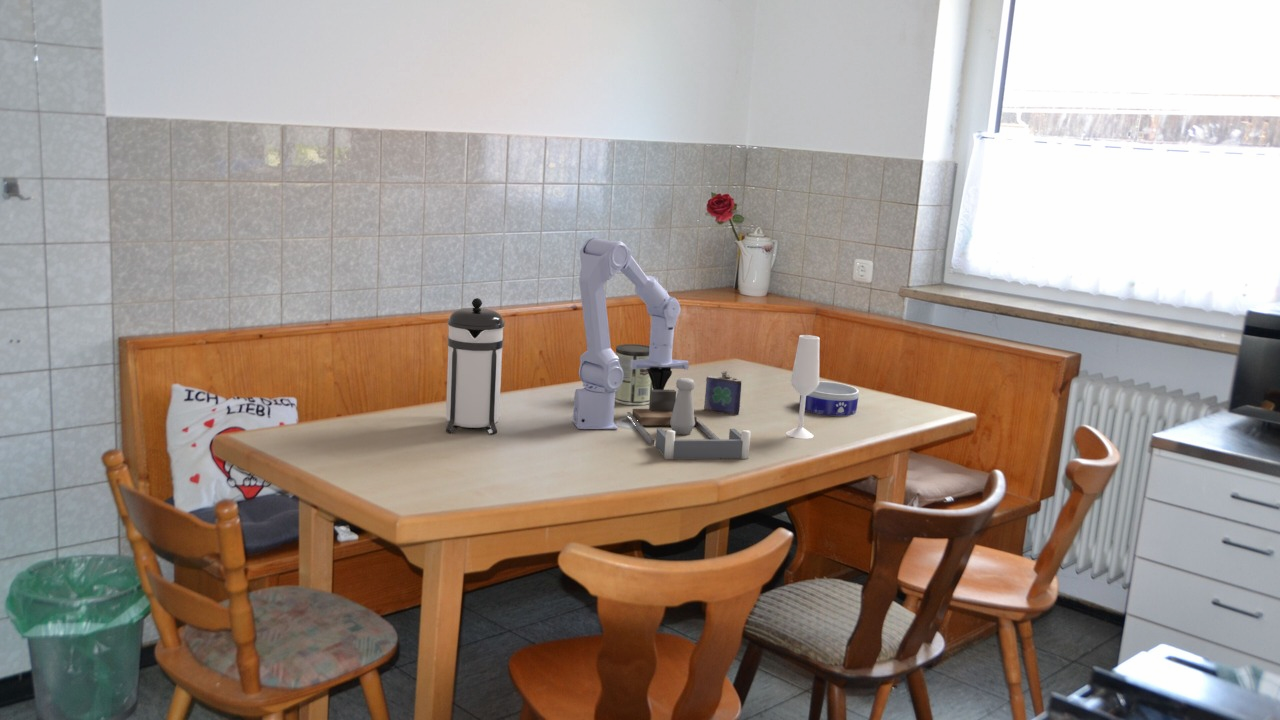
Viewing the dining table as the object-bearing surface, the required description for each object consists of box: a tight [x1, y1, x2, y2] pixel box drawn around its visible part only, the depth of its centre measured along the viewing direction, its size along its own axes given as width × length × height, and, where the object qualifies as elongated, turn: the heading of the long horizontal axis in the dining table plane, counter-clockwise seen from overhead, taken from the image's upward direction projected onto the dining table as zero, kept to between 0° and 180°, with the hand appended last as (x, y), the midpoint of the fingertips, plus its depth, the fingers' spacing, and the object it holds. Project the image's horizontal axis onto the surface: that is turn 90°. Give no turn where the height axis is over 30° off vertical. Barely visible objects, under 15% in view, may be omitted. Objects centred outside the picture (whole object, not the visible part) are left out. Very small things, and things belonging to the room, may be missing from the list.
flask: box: [703, 370, 742, 416], centre depth 280 cm, size 9×3×11 cm, turn 71°
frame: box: [655, 428, 751, 460], centre depth 244 cm, size 19×10×6 cm, turn 104°
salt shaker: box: [669, 377, 696, 436], centre depth 258 cm, size 6×6×13 cm
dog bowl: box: [799, 380, 860, 417], centre depth 292 cm, size 15×15×6 cm
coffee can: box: [615, 343, 653, 406], centre depth 285 cm, size 10×10×14 cm
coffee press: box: [445, 297, 506, 436], centre depth 249 cm, size 17×16×30 cm
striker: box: [631, 388, 698, 426], centre depth 267 cm, size 14×8×7 cm, turn 104°
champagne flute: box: [785, 334, 821, 440], centre depth 262 cm, size 7×7×24 cm
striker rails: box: [626, 411, 720, 446], centre depth 260 cm, size 16×24×1 cm
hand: (657, 397), depth 274 cm, fingers closed
